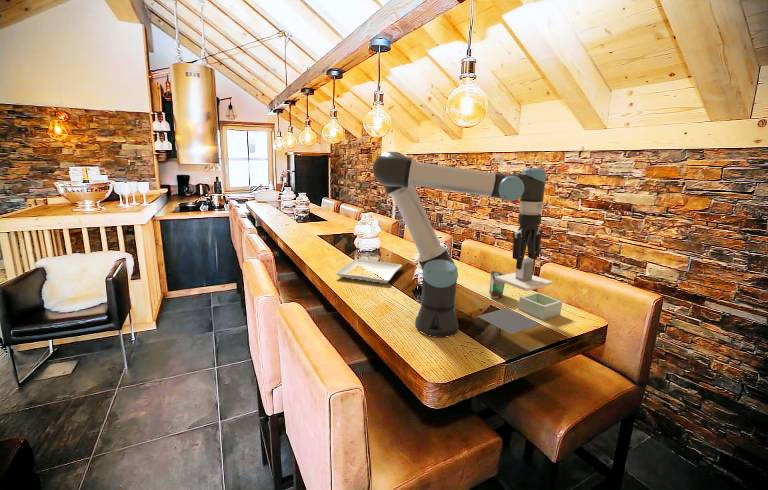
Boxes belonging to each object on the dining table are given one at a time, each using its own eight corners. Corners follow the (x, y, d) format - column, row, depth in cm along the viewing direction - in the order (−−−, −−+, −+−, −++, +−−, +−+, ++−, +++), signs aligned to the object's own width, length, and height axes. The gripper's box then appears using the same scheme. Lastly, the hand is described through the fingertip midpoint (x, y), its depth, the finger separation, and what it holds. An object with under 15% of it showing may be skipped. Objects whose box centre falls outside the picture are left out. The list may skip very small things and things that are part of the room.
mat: (511, 335, 122) (511, 334, 122) (476, 317, 135) (476, 316, 135) (540, 325, 130) (540, 324, 130) (505, 309, 143) (505, 308, 143)
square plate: (334, 280, 172) (334, 272, 172) (355, 264, 198) (355, 258, 197) (388, 287, 165) (388, 279, 164) (402, 270, 190) (402, 263, 189)
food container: (506, 302, 150) (509, 280, 148) (491, 301, 151) (493, 279, 149) (503, 292, 162) (505, 271, 159) (489, 291, 163) (491, 270, 160)
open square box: (542, 321, 133) (544, 306, 132) (518, 310, 142) (519, 296, 141) (560, 315, 139) (562, 301, 137) (535, 305, 148) (537, 292, 146)
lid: (526, 291, 121) (528, 268, 119) (495, 279, 133) (496, 258, 131) (552, 284, 128) (554, 263, 126) (520, 273, 140) (522, 254, 138)
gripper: (522, 216, 117) (516, 283, 123) (555, 212, 126) (547, 275, 131) (504, 213, 124) (499, 277, 129) (536, 210, 132) (530, 270, 137)
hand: (523, 276), depth 130 cm, fingers closed on lid, 4 cm apart
